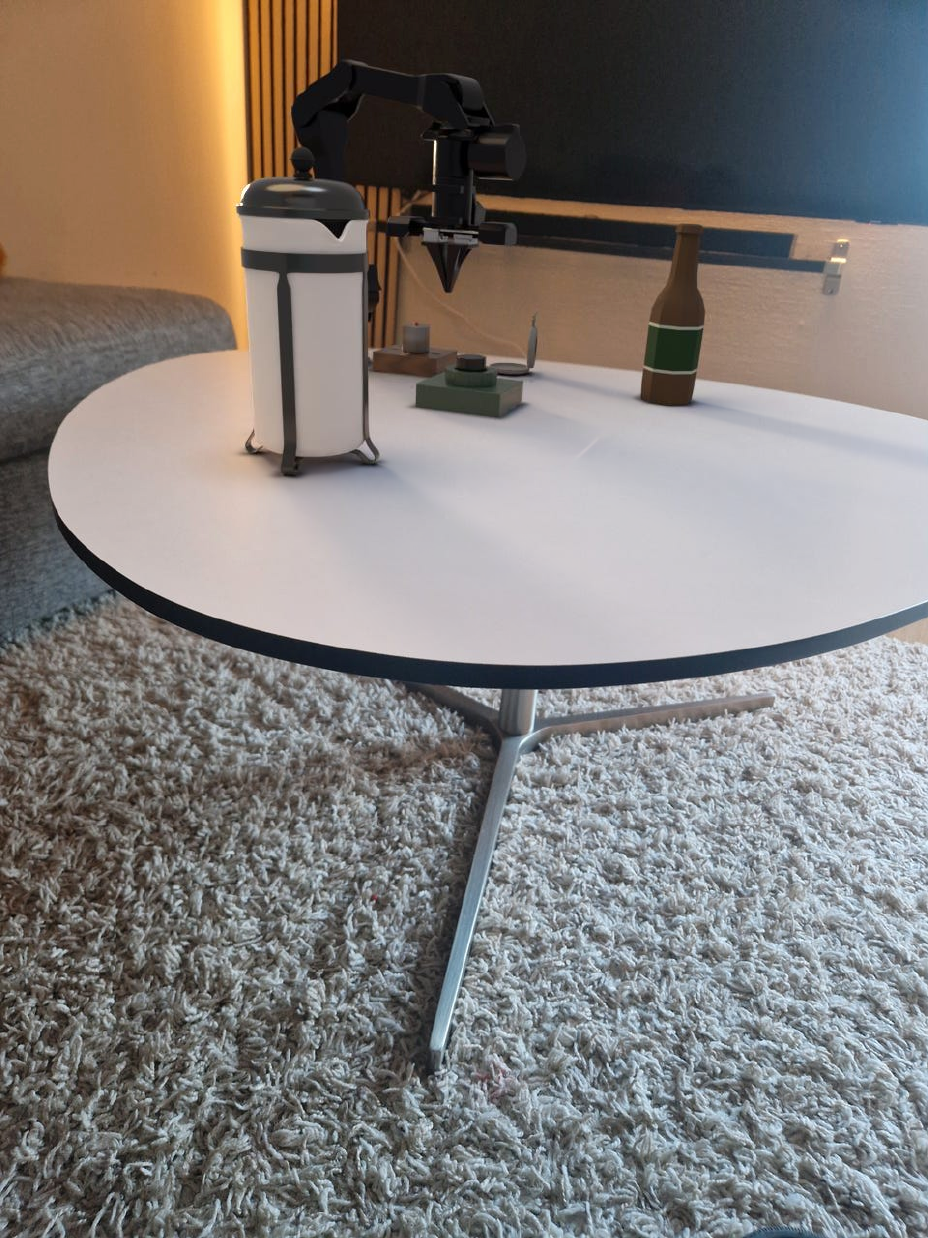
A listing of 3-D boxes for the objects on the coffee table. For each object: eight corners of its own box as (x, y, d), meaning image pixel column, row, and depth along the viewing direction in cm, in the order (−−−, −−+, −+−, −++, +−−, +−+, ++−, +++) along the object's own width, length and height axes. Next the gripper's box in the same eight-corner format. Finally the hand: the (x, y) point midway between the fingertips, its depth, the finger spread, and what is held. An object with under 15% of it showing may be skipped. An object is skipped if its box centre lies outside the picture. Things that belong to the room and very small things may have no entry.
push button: (452, 372, 121) (452, 356, 120) (462, 367, 124) (463, 352, 124) (479, 375, 120) (480, 359, 119) (489, 370, 123) (490, 355, 122)
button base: (415, 407, 122) (416, 369, 120) (443, 394, 130) (444, 358, 128) (498, 418, 118) (500, 379, 116) (521, 403, 126) (524, 367, 124)
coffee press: (402, 446, 103) (405, 153, 90) (350, 484, 89) (345, 144, 76) (265, 430, 107) (250, 147, 94) (194, 464, 93) (164, 138, 80)
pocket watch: (482, 369, 149) (485, 306, 145) (526, 367, 153) (530, 305, 148) (504, 378, 143) (508, 312, 138) (550, 376, 146) (555, 312, 142)
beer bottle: (688, 396, 136) (714, 224, 126) (695, 407, 129) (723, 226, 119) (637, 393, 137) (659, 221, 126) (641, 404, 130) (664, 223, 119)
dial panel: (373, 370, 144) (372, 350, 143) (396, 362, 152) (396, 343, 150) (436, 378, 141) (436, 357, 139) (456, 369, 148) (457, 349, 147)
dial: (431, 353, 143) (431, 325, 141) (403, 352, 143) (404, 324, 141) (427, 348, 147) (428, 321, 145) (400, 348, 146) (401, 320, 145)
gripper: (532, 181, 132) (523, 293, 139) (416, 175, 138) (414, 283, 144) (507, 179, 122) (499, 300, 129) (384, 173, 128) (383, 288, 135)
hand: (448, 292), depth 135 cm, fingers closed
